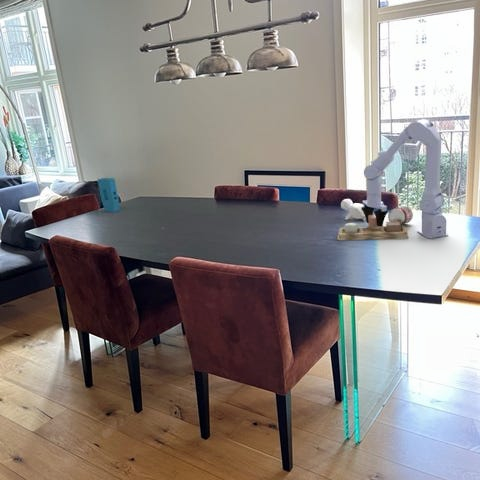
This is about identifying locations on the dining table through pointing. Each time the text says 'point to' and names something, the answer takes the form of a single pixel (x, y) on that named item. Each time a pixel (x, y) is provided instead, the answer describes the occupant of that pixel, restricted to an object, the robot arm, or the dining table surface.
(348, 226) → the seated pieces
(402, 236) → the oak tray
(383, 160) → the robot arm
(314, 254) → the dining table surface
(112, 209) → the block
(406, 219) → the soda can
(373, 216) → the terracotta block
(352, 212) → the white figurine
